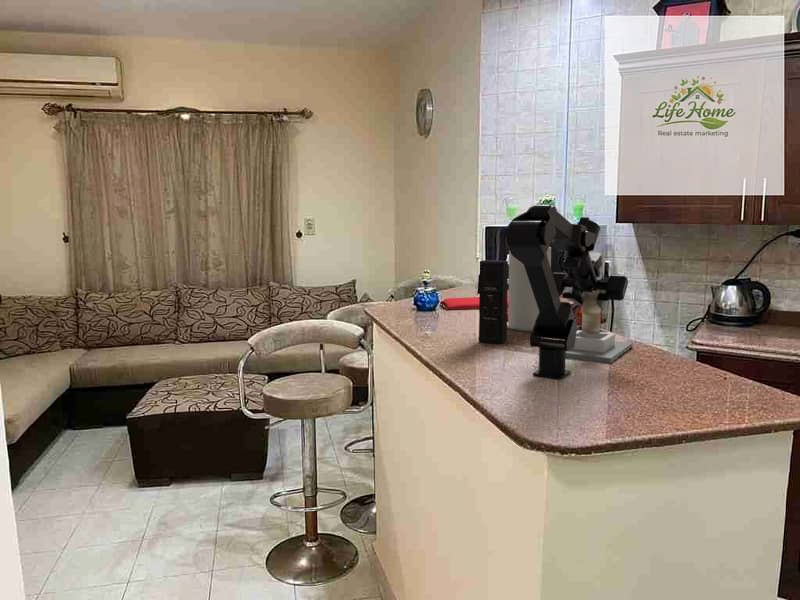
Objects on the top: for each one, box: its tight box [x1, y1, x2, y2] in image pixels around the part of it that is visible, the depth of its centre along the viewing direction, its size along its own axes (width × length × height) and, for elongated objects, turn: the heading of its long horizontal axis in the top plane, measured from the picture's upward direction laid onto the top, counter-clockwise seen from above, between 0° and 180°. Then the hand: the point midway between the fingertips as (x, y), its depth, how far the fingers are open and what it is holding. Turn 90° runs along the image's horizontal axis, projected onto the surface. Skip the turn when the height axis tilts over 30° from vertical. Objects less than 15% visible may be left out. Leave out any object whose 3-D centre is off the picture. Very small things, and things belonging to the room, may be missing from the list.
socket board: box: [566, 329, 634, 364], centre depth 156 cm, size 20×16×4 cm
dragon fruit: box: [574, 305, 607, 327], centre depth 186 cm, size 8×8×12 cm
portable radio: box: [477, 251, 509, 345], centre depth 168 cm, size 8×6×25 cm
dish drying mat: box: [439, 295, 509, 311], centre depth 236 cm, size 16×41×4 cm, turn 98°
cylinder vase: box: [507, 246, 552, 332], centre depth 187 cm, size 12×12×25 cm
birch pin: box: [581, 291, 602, 334], centre depth 154 cm, size 4×4×11 cm
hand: (593, 306), depth 155 cm, fingers closed on birch pin, 4 cm apart
